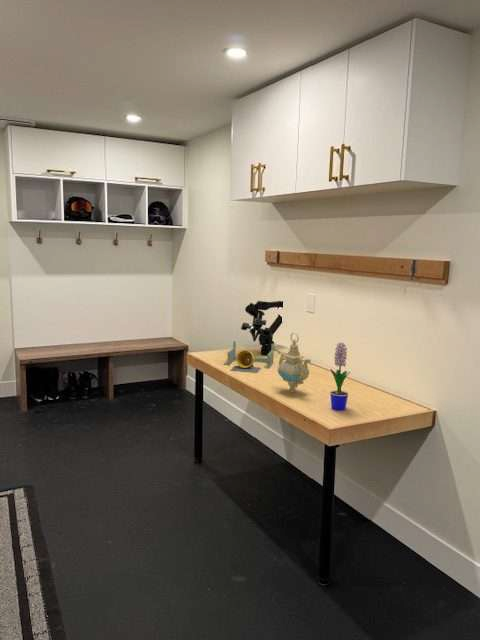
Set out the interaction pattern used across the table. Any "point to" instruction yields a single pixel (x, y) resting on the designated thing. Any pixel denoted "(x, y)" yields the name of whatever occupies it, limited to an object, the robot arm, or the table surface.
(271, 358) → the grey-green open frame
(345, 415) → the table surface
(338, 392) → the hyacinth
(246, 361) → the plant pot
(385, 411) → the table surface
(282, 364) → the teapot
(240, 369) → the mat
